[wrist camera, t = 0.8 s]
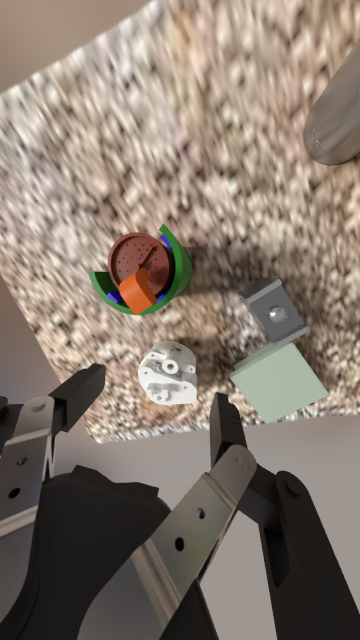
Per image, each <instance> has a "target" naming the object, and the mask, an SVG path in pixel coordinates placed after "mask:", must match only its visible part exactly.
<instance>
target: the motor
mask: <svg viewBox="0 0 360 640" xmlns="http://www.w3.org/2000/svg"><path fill="white" fill-rule="evenodd" d="M159 230H160V231H161V232H162V233H163V236H162V238H163V240H164V241H165V243H166V244H167V246H168V247H166V246H164V245H163V244H162V243H160V242H159V241H157V240H156V239H154V238H153V237H151V236H149V235H147V234H144V233H129V234H126V235H124V236H122V237H121V238H120V239H118V240H117V241H116V242H115V244H114V245H113V247H112V248H111V251H110V253H109V257H108V270H109V272H89V276H90V279H91V282H92V284H93V286H94V288H95V290H96V291H97V293H98V294H99V296H100V297H101V298H102V299H103V300H104V301H105V302H106V303H107V304H108V305H110V306H111V307H113V308H114V309H116V310H118V311H120V312H123V313H126V314H131V315H144V314H149V313H152V312H155V311H157V310H159V309H160V308H162V307H163V306H165V305H166V304H167V303H168V302H170V301H171V300H172V299H173V298H174V297H176V296H177V295H178V294H179V293H181V292H182V291H183V290H184V289H185V288H186V287H187V285H188V284H189V282H190V279H191V276H192V263H191V259H190V257H189V255H188V253H187V252H186V250H185V249H184V248H183V247H182V245H181V244H180V243H179V242H178V240H177V239H176V238H175V237H174V235H173V234H172V233H171V232H170V230H169V229H168V228H167V227H166V226H165V225H164V224H163V225H162V226H161V228H160V229H159ZM166 291H168V292H166ZM161 292H166V293H161Z"/></svg>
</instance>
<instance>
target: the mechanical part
mask: <svg viewBox="0 0 360 640" xmlns="http://www.w3.org/2000/svg"><path fill="white" fill-rule="evenodd" d="M172 347H176V348H178V349H181V352H180V351H178V350H175V349H172ZM195 369H196V357H195V355H194V354H193V353H192V351H191V350H190V349H188V348H187V347H185V346H184V345H182V344H179V343H177V342H173V341H162V342H158V343H155V344H154V346H153V348H152V349H151V351H150V353H149V354H147V355H146V356H145V358H144V359H143V361H142V362H141V364H140V366H139V371H138V377H139V381H140V384H141V386H142V387H143V389H144V390H145V391H146V393H147V397H150V398H151V400H152V401H154V402H155V403H157V404H163V405H170V404H187V403H196V394H197V375H196V373H195Z"/></svg>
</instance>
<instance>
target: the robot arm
mask: <svg viewBox="0 0 360 640" xmlns="http://www.w3.org/2000/svg"><path fill="white" fill-rule="evenodd" d="M304 140H305V145H306V148H307V150H308V153H309V154H310V155H311V157H312V158H313V159H315V160H316V161H317V162H320V163H322V164H327V165H334V164H339V163H342V162H345V161H347V160H349V159H351V158H352V157H354V156H355V155H356V154H358V153H359V152H360V38H359V40H358V41H357V43H356V44H355V46H354V47H353V49H352V50H351V52H350V53H349V55H348V56H347V58H346V59H345V61H344V62H343V63H342V65H341V66H340V68H339V69H338V71H337V72H336V74H335V75H334V77H333V78H332V80H331V81H330V82H329V84H328V85H327V87H326V88H325V90H324V91H323V93H322V94H321V96H320V97H319V99H318V100H317V102H316V103H315V105H314V106H313V108H312V110H311V112H310V113H309V116H308V119H307V121H306V126H305V131H304ZM105 372H106V367H105V365H101V364H96V363H94V364H92V365H91V366H90V367H89V368H88V369H82V370H80V371H78V372H76V373H75V374H74V375H72V376H71V378H69V379H67V380H66V382H64V383H63V384H61V385H60V386H59V387H58V388H56V389H55V390H54V391H53V392H51V393H50V394H49V395H48V396H40V397H36V398H33V399H31V400H30V401H28V402H26V403H25V404H8V399H7V398H6V397H3V396H0V456H1V457H0V640H219V638H218V636H217V632H216V630H215V627H214V624H213V621H212V618H211V615H210V613H209V610H208V608H207V604H206V601H205V598H204V596H203V593H202V590H201V587H200V583H201V581H202V579H203V577H204V575H205V573H206V571H207V570H208V568H209V566H210V564H211V562H212V560H213V558H214V556H215V554H216V552H217V550H218V548H219V546H220V543H221V542H222V540H223V538H224V536H225V534H226V533H227V531H228V529H229V527H230V525H231V523H232V521H233V519H234V517H235V515H236V514H237V512H238V510H239V511H241V512H242V513H244V514H245V515H247V516H248V517H249V518H251V519H252V520H253V521H255V522H256V523H258V526H259V532H260V538H261V544H262V550H263V556H264V562H265V568H266V574H267V580H268V586H269V592H270V598H271V604H272V610H273V616H274V622H275V628H276V634H277V640H360V614H359V611H358V609H357V606H356V604H355V602H354V599H353V597H352V595H351V592H350V590H349V587H348V585H347V583H346V580H345V578H344V575H343V573H342V571H341V568H340V566H339V563H338V561H337V559H336V557H335V554H334V551H333V549H332V547H331V544H330V542H329V540H328V537H327V535H326V532H325V530H324V528H323V525H322V523H321V521H320V518H319V516H318V513H317V511H316V508H315V506H314V504H313V501H312V499H311V496H310V494H309V492H308V490H307V488H306V487H305V486H304V484H303V483H302V482H301V481H300V480H299V479H298V478H297V477H296V476H294V475H293V474H291V473H289V472H287V471H279V472H278V473H277V474H276V475H275V474H273V473H271V472H270V471H268V470H266V469H265V468H263V467H261V466H260V465H259V464H258V463H256V460H255V458H254V456H253V455H252V453H251V452H250V451H249V450H248V448H247V444H246V440H245V435H244V431H243V427H242V423H241V420H240V414H239V411H238V409H237V408H236V406H235V405H234V404H231V403H229V401H228V395H227V394H223V393H219V392H216V393H215V396H214V400H213V403H212V407H211V411H210V447H211V471H210V472H209V473H207V472H205V473H204V474H203V475H202V476H201V477H200V478H199V480H198V481H197V482H196V483H195V484H194V485H193V487H192V488H191V489H190V490H189V491H188V493H187V494H186V495H185V496H184V497H183V499H182V500H181V501H180V502H179V503H178V504H177V506H176V507H175V508H174V509H173V510H172V511H171V510H170V508H169V507H168V506H167V504H166V503H165V502H164V501H163V500H162V499H160V498H159V497H157V495H158V491H159V488H157V487H153V486H149V485H146V484H142V483H139V482H132V483H131V482H130V483H114V482H112V481H110V480H109V479H108V478H106V477H105V476H104V475H102V474H101V473H99V472H98V471H97V470H94V469H90V468H87V467H83V466H79V465H76V467H75V468H74V470H73V471H72V473H64V474H60V475H57V476H54V477H53V469H54V458H55V447H56V435H57V434H58V433H59V432H60V431H64V432H69V430H70V429H71V428H72V427H73V426H74V424H75V423H76V422H77V421H78V420H79V418H80V417H81V416H82V415H83V414H84V412H85V411H86V410H87V409H88V408H89V407H90V405H91V404H92V403H93V402H94V401H95V399H96V398H97V397H98V396H99V395H100V393H101V392H102V390H103V388H104V385H105Z"/></svg>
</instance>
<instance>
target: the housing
mask: <svg viewBox="0 0 360 640" xmlns="http://www.w3.org/2000/svg"><path fill="white" fill-rule="evenodd" d="M281 284H282V282H281V280H280V279H276V278H265V277H261V278H260V279H258V280H257V281H255V282H254V283H252V284H250V285H249V286H247V287H246V288H244V289H243V290H241V291H240V292H238V293H237V294H238V296H239V297H240V299H241V300H242V302H243V303H244V305H245V306H246V308H247V310H248V311H249V313H250V314H251V316H252V317H253V319H254V320H255V322H256V324H257V325H258V327H259V328H260V330H261V331H262V332H263V333H264V334H265V335H266V336H267V337H268V338H269V339H270V340H271V342H272V343H273V344H274V345H275V346H276V347H277V348H278V347H280V346H282V345H284V344H286V343H288V342H290V341H292V340H293V339H295V338H297V337H299V336H301V335H303V334H305V333H307V332H309V331H310V329H309V328H308V326H306V325H305V324H304V322H303V320H302V319H301V317H300V315H299V314H298V312H297V310H296V309H295V307H294V305H293V303H292V302H291V300H290V298H289V297H288V295H287V293H286V292H285V290H284V288H283V287H282V285H281Z"/></svg>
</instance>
